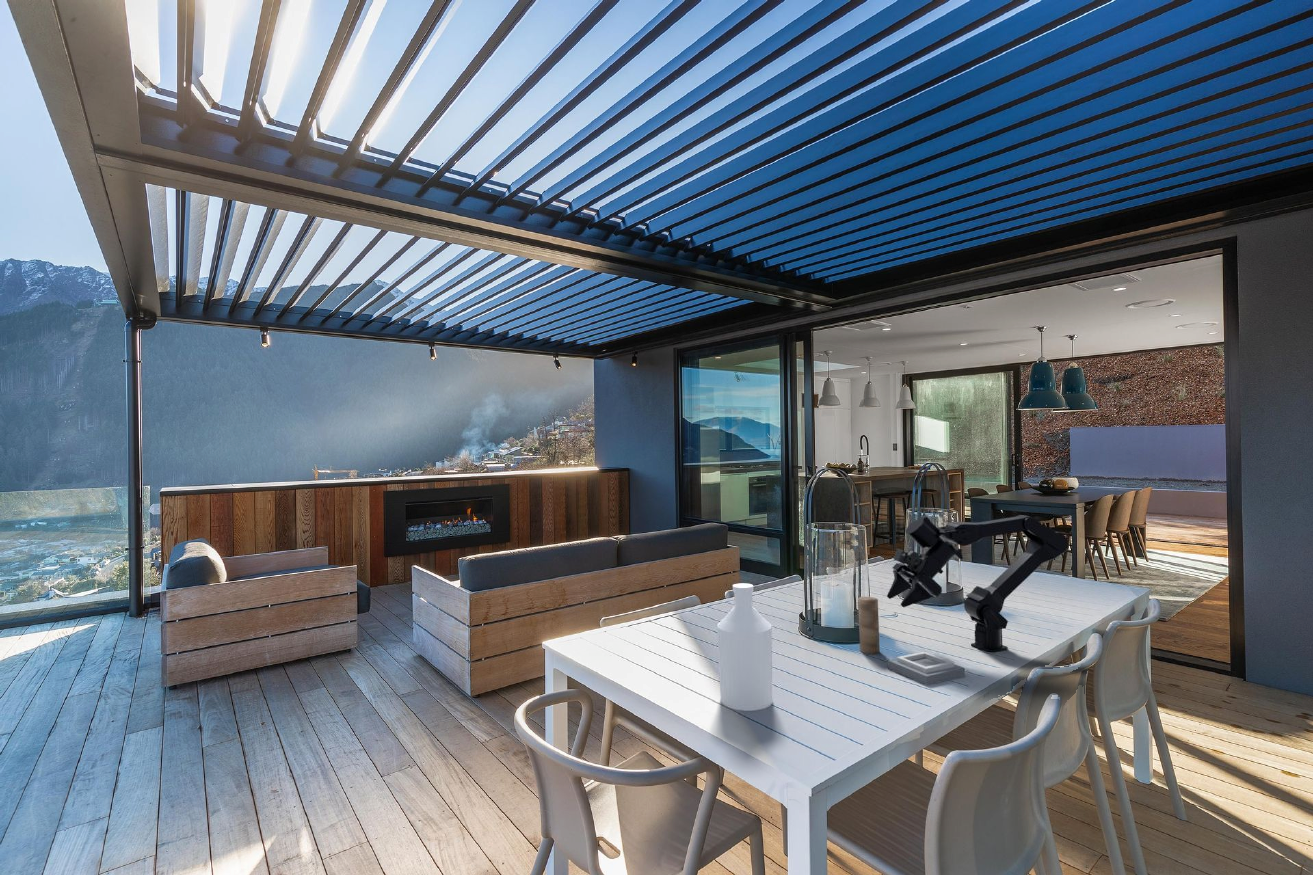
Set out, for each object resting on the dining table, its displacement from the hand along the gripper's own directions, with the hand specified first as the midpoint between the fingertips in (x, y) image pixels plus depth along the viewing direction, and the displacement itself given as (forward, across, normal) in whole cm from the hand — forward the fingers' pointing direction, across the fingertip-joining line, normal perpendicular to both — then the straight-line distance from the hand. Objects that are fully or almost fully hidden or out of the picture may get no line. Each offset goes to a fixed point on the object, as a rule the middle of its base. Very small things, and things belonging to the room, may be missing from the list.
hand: (894, 601), depth 163 cm
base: (+9, +16, +10) cm, 21 cm away
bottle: (+41, +29, -22) cm, 55 cm away
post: (+14, 0, +4) cm, 15 cm away
